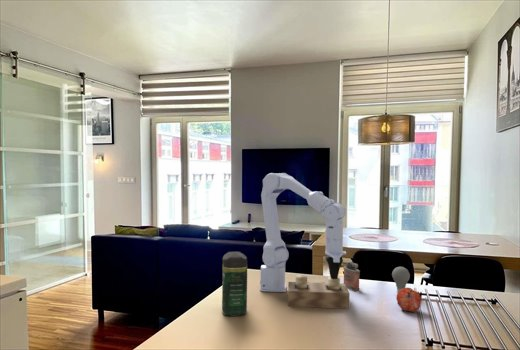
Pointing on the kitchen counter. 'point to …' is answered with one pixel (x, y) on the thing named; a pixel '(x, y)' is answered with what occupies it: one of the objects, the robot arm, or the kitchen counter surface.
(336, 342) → the kitchen counter surface
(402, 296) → the pomegranate
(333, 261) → the robot arm
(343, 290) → the wooden block with recesses
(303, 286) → the left peg
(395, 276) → the light bulb
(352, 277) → the red ornate tin
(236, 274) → the coffee jar
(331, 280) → the right peg
